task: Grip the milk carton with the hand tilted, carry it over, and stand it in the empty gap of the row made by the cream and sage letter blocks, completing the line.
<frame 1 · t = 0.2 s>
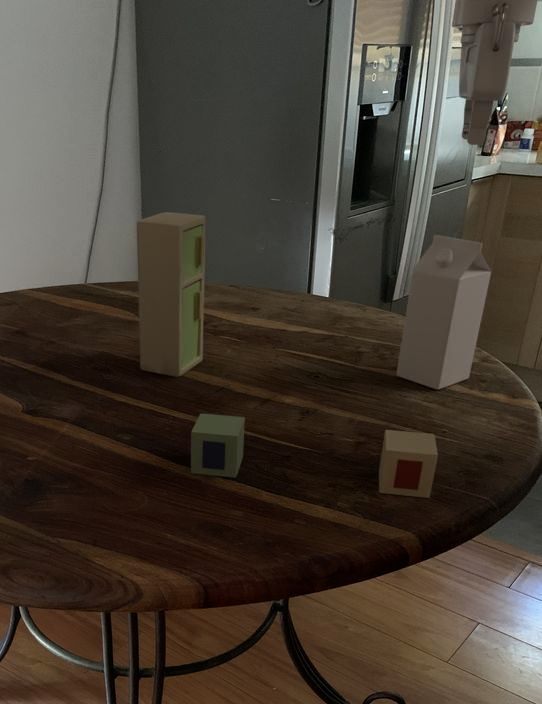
hand: (471, 141, 91), 30 cm above the table, tool pointing down, fingers open, 8 cm apart
sage letter block: (217, 465, 82), on the table
cream letter block: (403, 484, 78), on the table
toy refrigerator: (174, 367, 110), on the table
milk carton: (431, 379, 104), on the table
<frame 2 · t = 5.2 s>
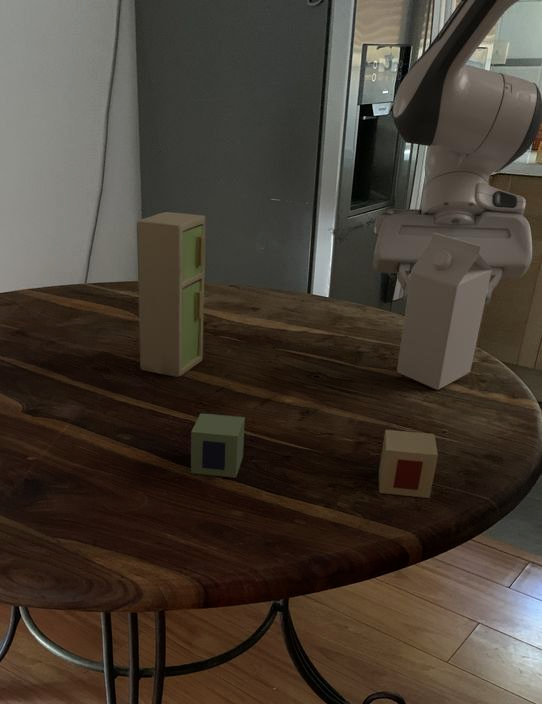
hand: (446, 300, 99), 11 cm above the table, tool tilted 45°
milk carton: (432, 374, 104), point 1 cm above the table, touching gripper
everything else where it was.
when the fingers open (11 cm above the table, at t = 18.5 s): milk carton stays where it is, point 1 cm above the table.
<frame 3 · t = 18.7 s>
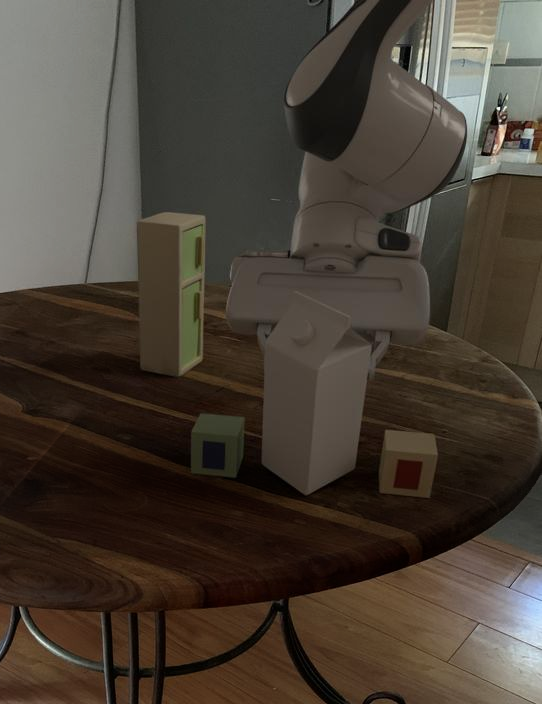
hand: (317, 374, 74), 12 cm above the table, tool tilted 45°, fingers open, 8 cm apart
milk carton: (307, 469, 79), point 1 cm above the table, touching gripper
everything else where it was.
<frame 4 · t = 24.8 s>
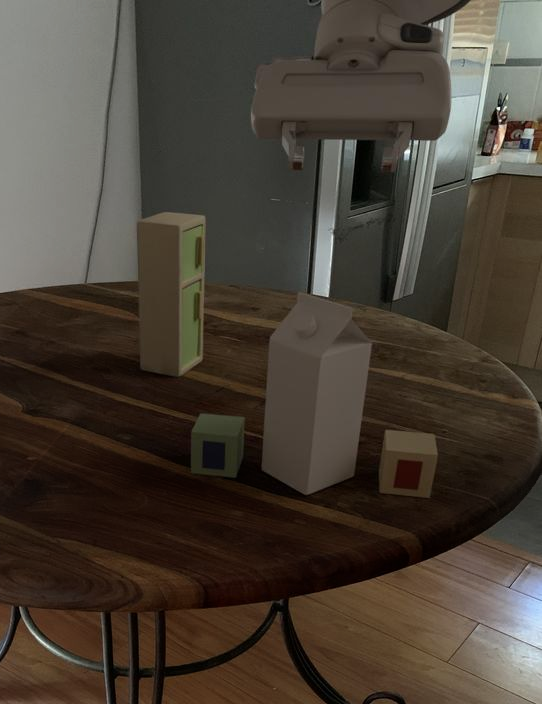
hand: (341, 167, 75), 29 cm above the table, tool tilted 45°, fingers open, 8 cm apart
milk carton: (306, 476, 80), on the table
everything else where it was.
at the end: milk carton 0.1 cm from the target spot on the table beside the cream letter block, on the table; milk carton tilted 0°; the gripper is holding nothing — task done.
